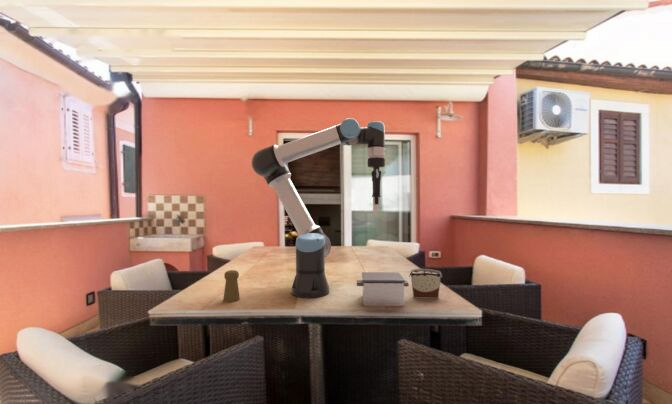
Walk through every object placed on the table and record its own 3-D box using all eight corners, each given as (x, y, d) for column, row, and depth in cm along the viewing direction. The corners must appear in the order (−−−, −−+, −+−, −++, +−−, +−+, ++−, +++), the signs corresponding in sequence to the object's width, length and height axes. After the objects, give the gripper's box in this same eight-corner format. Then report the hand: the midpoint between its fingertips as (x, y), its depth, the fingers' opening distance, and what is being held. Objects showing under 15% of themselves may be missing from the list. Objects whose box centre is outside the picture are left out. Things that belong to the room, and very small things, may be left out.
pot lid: (363, 282, 113) (363, 280, 113) (361, 274, 125) (361, 272, 125) (404, 282, 112) (404, 280, 112) (399, 274, 125) (399, 272, 125)
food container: (438, 293, 127) (438, 268, 127) (442, 298, 121) (442, 272, 121) (407, 293, 128) (407, 268, 128) (409, 297, 122) (409, 271, 122)
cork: (243, 299, 121) (242, 270, 121) (228, 303, 116) (228, 273, 116) (234, 296, 125) (234, 268, 125) (220, 299, 120) (220, 270, 120)
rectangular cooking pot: (357, 305, 113) (357, 283, 113) (356, 295, 125) (356, 275, 125) (410, 306, 112) (410, 283, 112) (404, 296, 124) (404, 275, 124)
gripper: (386, 155, 133) (386, 212, 133) (383, 159, 146) (383, 211, 146) (368, 155, 133) (368, 212, 133) (366, 160, 146) (366, 211, 146)
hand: (376, 211), depth 139 cm, fingers closed
